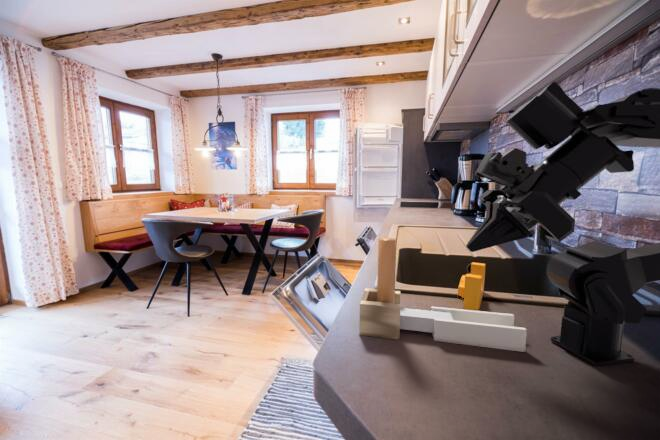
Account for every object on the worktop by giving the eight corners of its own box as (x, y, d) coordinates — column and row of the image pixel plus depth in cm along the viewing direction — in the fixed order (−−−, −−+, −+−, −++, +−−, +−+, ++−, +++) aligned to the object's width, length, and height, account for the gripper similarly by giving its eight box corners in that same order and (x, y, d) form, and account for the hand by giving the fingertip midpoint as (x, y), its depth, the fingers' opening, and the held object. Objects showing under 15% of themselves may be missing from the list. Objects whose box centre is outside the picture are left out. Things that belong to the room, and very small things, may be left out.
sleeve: (511, 333, 45) (512, 314, 45) (525, 351, 40) (526, 330, 40) (430, 324, 48) (431, 306, 48) (433, 340, 43) (434, 320, 43)
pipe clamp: (461, 288, 66) (463, 261, 65) (483, 292, 63) (485, 263, 63) (453, 307, 55) (455, 274, 55) (478, 312, 53) (480, 278, 52)
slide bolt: (449, 325, 46) (454, 240, 45) (453, 335, 43) (458, 244, 42) (371, 317, 49) (372, 237, 48) (369, 325, 46) (371, 240, 45)
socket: (399, 318, 50) (400, 290, 50) (399, 339, 43) (400, 307, 43) (364, 315, 52) (365, 287, 51) (359, 334, 45) (359, 303, 44)
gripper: (495, 142, 49) (424, 206, 53) (552, 115, 31) (437, 215, 35) (545, 189, 48) (469, 251, 52) (633, 190, 30) (506, 285, 34)
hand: (468, 249), depth 43 cm, fingers closed
